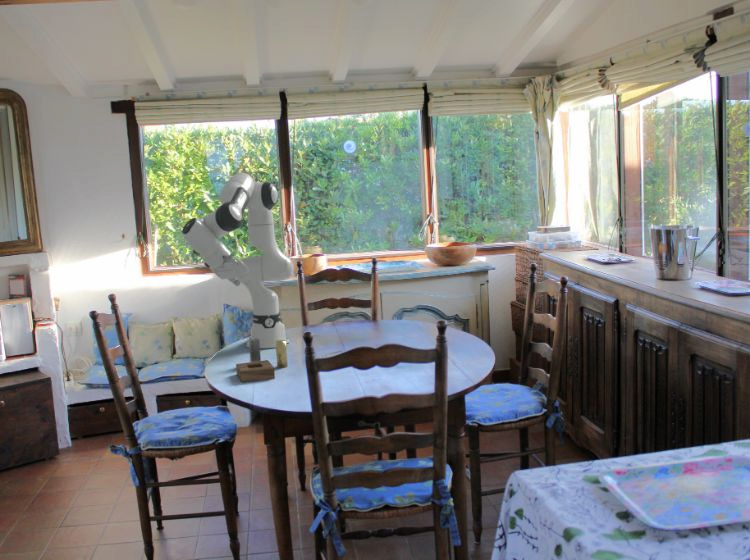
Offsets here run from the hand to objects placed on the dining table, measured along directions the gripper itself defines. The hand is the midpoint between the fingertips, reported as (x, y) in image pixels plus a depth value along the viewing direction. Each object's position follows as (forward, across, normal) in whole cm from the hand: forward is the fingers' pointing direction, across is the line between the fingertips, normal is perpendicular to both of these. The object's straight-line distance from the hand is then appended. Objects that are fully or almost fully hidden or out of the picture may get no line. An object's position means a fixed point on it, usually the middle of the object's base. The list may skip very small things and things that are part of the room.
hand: (244, 284), depth 265 cm
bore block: (+27, 0, +21) cm, 34 cm away
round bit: (+35, +5, +10) cm, 37 cm away
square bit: (+30, +16, +14) cm, 36 cm away
